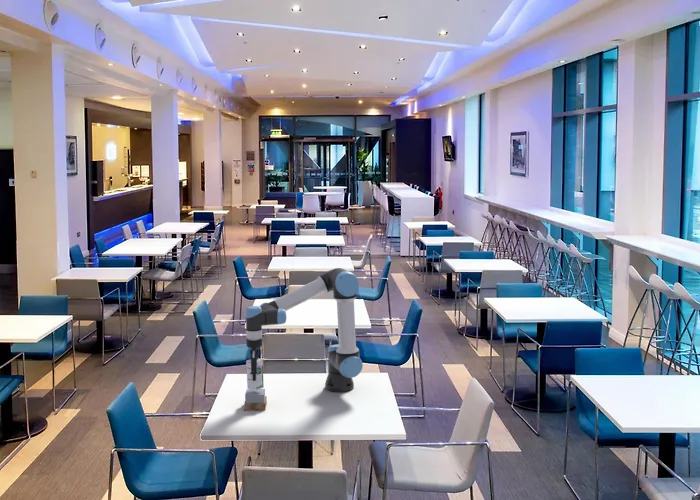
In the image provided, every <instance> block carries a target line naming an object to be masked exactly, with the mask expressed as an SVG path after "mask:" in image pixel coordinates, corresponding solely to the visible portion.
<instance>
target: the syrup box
mask: <svg viewBox="0 0 700 500" xmlns="http://www.w3.org/2000/svg"><path fill="white" fill-rule="evenodd" d="M245 362H246V363H245V364H246V385H247V386H246V389H251V390H255V391H256V390H258V389H265V387H264V363H263V362H264V361H263V359H262V358H259V357H258V360H257V385H258V387H252V376H251V374H250V373H251V358H250V359H247V360H246V361H245Z"/></svg>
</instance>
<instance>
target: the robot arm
mask: <svg viewBox="0 0 700 500" xmlns="http://www.w3.org/2000/svg"><path fill="white" fill-rule="evenodd" d="M359 289H360V281H359V278H358V277H357V275H355V273H353V272H351V271H349V270H346V269H345V268H341V267H336V268H333V269H331V270H328V271H326V272H324V273H322V274H320V275H318V276H317V278H316V279H315V280H312V281H311V282H308V283H307V284H304V285H302V286H301V287H300V286H299V287H298V288H297V289H294V290H292V291H290V292H287V293H286V294H284V295H282V296H280V297H278V298H276V299H274V300H272V301H270V302H263V303H261V304H260V305H250V306H248V307H246V309H245V328H246V329H245V331H244V334H246V335H245V336H246V339H245V340H246V347H247V348H249V349H250V348H251V349H250V351H249V353H250V359H251V373H250V374H251V376H252V387H258V385H257V360H258V358H259V355H260V349H259V348H261V347H262V346H263V338H262V337H263V328H262V326H263V327H264V326H275V325H276V326H277V325H278V326H279V325H284V324H286V322H287V312H286V311H289V310H290V309H293V308H294V307H296V306H298V305H301V304H302V303H305V302H307V301H308V300H311V299H313V298H315V297H317V296H319V295H321V294H323V293H325V294H327V293H329V292H332V293H333V299H334V300H335V301H336V308H337V309H336V311H337V312H336V313H337V332H338V343H337V344H331V345H329V346H328V348H327V349H328V350H327V359H328V360H327V364H328V365H327V366H328V368H327V369H328V370H327V371H328V374H327V377H326V380H325V382H324V383H325V384H324V388H325V390H327V391H330V392H335V393H344V392H348V391H352V390H353V389H355V385H354V384H355V383H354V380H353V378H355V377H357V376H359V375H360V373H361V372H362V370H363V367H364V365H363V361H362V359H361V358H360V349H359V348H358V346H357V345H356V344H357V342H356V340H357V339H356V321H355V319H356V317H355V300H356V298H358V294H357V292H358V291H359Z"/></svg>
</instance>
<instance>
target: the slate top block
mask: <svg viewBox="0 0 700 500" xmlns="http://www.w3.org/2000/svg"><path fill="white" fill-rule="evenodd" d="M265 396H266V388H261V389H258V390H256V391H255V390H251V389H248V388H246V390H245V393H244V398H245V400H244V403H264V400H265Z"/></svg>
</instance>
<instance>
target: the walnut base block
mask: <svg viewBox="0 0 700 500" xmlns="http://www.w3.org/2000/svg"><path fill="white" fill-rule="evenodd" d="M267 403H268V401H267V396H266V395H265V400H264V403H245V402H244V404H243V405H244V406H243V408H244V412H248V411H249V412H250V411H251V412H252V411H253V412H255V411H266V410H267V409H266V408H267V405H268V404H267Z"/></svg>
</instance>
